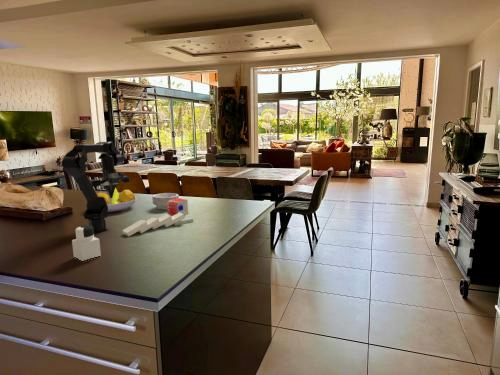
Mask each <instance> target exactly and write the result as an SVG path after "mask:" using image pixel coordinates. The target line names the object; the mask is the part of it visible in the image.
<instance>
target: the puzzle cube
mask: <svg viewBox="0 0 500 375" xmlns="http://www.w3.org/2000/svg"><path fill="white" fill-rule="evenodd" d="M188 202H189V201H188V199H185V198H179V199H178V198H176V199H173V200H169V201H167V210H166V211H167V214H168V215H170V216H173V215H175V214H177V213H180V212H181V213H182V214H183V215H184V216H185V215H188V214H189V204H188Z"/></svg>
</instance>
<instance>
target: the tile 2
mask: <svg viewBox="0 0 500 375" xmlns="http://www.w3.org/2000/svg"><path fill="white" fill-rule="evenodd" d="M145 221H146V222H147V224H148V225H147V226H146V227H144V228H142V229H141V230H139V231H137V232H138V233H140V234H143V233H145V232H146V231H148V230H150V229H152V228H151V227H153V226H155V225H156V224H158V223H160V222H159V219H158V218H157V217H155V216H152V217H150V218H149V219H147V220H145Z"/></svg>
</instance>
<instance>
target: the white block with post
mask: <svg viewBox="0 0 500 375" xmlns="http://www.w3.org/2000/svg"><path fill="white" fill-rule="evenodd" d="M74 233H75V239H72V240H71V245H72V251H73V252H72V253H73V258H74V257H76V258H78V259H79V260H81V261H84V260H87V259H90V258H94V257H98V256H100V257H101V256H102V253H101V244H100V243H101V242H100V238H98V237H96V236H95V233H94V230H93V227H92V226H89V224H87V225H81V226H78V227H76V228H75V232H74ZM76 258H75V259H76ZM98 258H99V257H98ZM94 259H95V258H94ZM79 260H78V261H79ZM81 261H80V262H81Z"/></svg>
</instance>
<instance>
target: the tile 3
mask: <svg viewBox="0 0 500 375" xmlns="http://www.w3.org/2000/svg"><path fill="white" fill-rule="evenodd" d="M157 219H159V222H160V223H158V224H156V225H155V226H153V227H151V228H150V229H152V230H156V229H157V228H159V227H162V226H164V224H165V223H167V222H169V221H171V220H172V217H171V215H168V213H166V214H164V215H162V216H160V217H159V218H157Z"/></svg>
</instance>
